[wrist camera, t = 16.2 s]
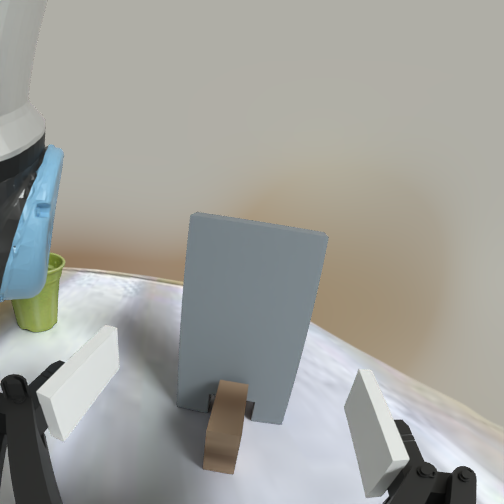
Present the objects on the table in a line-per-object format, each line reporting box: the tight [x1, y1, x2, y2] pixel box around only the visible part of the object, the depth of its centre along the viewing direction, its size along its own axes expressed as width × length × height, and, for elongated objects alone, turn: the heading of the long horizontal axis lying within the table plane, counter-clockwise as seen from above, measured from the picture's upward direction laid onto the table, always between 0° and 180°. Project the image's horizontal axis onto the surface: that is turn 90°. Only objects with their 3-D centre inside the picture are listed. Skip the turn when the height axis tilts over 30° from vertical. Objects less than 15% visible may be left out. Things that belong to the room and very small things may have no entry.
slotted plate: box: [177, 212, 329, 425], centre depth 25 cm, size 10×2×18 cm, turn 86°
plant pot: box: [11, 253, 65, 332], centre depth 33 cm, size 9×9×9 cm
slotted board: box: [203, 380, 249, 474], centre depth 31 cm, size 24×2×5 cm, turn 176°
